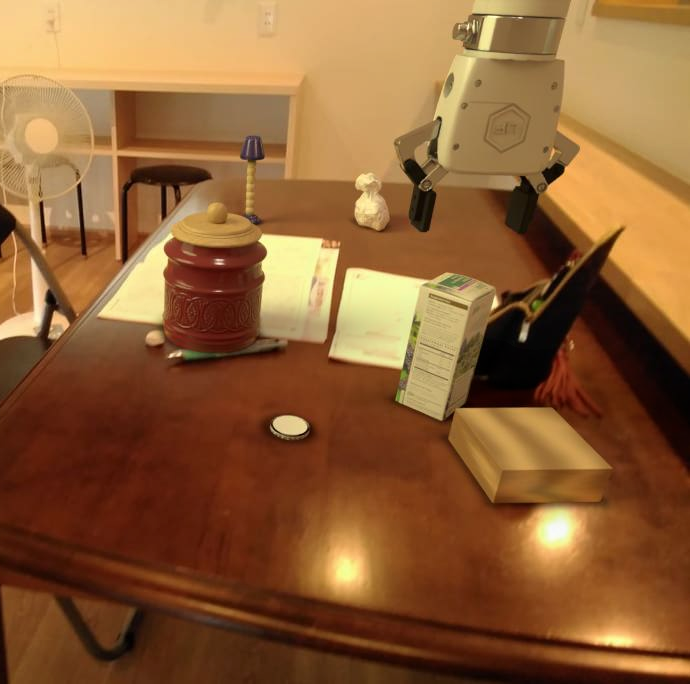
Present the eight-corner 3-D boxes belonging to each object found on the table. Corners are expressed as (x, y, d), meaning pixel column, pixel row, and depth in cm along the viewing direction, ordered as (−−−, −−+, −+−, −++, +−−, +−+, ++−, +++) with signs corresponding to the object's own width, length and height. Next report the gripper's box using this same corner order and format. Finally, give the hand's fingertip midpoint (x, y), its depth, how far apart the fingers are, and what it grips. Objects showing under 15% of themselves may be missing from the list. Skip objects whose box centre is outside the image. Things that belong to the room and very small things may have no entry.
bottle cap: (279, 415, 74) (279, 410, 73) (314, 426, 72) (315, 421, 72) (263, 433, 71) (264, 428, 70) (300, 445, 69) (301, 440, 69)
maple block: (541, 439, 71) (552, 407, 69) (599, 504, 62) (613, 468, 60) (447, 440, 70) (455, 407, 69) (492, 506, 62) (502, 470, 60)
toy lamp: (232, 224, 135) (238, 137, 127) (240, 218, 138) (245, 133, 131) (256, 228, 133) (263, 139, 125) (263, 221, 137) (270, 135, 129)
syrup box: (419, 385, 80) (443, 269, 74) (467, 405, 77) (498, 284, 70) (394, 403, 77) (417, 282, 70) (444, 424, 73) (473, 299, 66)
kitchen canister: (188, 363, 84) (193, 223, 76) (146, 321, 94) (147, 194, 86) (278, 345, 89) (292, 211, 81) (229, 307, 99) (237, 185, 91)
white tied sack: (366, 227, 142) (337, 181, 140) (400, 207, 139) (371, 160, 136) (367, 245, 132) (336, 196, 129) (403, 224, 129) (373, 174, 126)
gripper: (431, 39, 56) (393, 240, 64) (634, 46, 57) (572, 243, 65) (400, 33, 63) (369, 216, 70) (582, 40, 64) (532, 219, 71)
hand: (467, 229), depth 68 cm, fingers open, 9 cm apart
